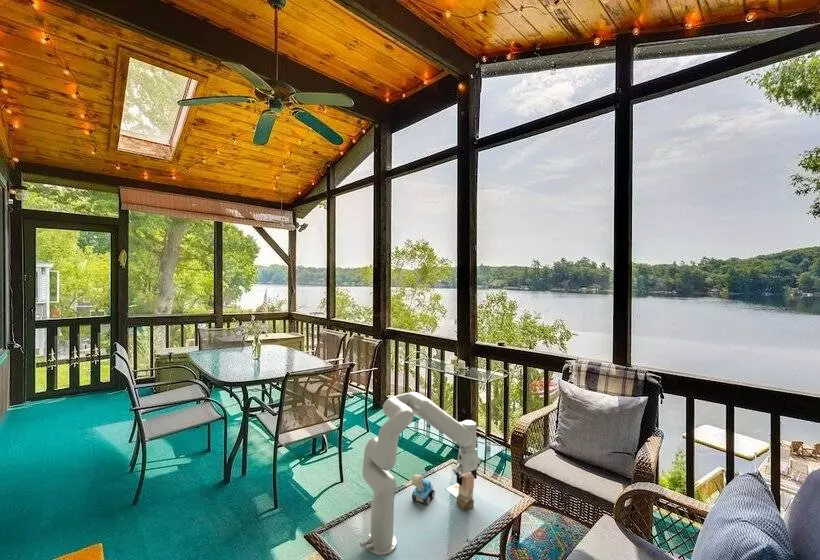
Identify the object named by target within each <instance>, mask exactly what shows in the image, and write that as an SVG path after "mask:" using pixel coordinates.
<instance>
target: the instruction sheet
mask: <svg viewBox="0 0 820 560" xmlns="http://www.w3.org/2000/svg"><path fill="white" fill-rule="evenodd" d="M445 490H446V491H447V492H449V493H450V495H452V496H453V497H455V499H457V496H458V492H459V484H458V483H457V482H456V483H455V484H452V485H450V486H448V487H446V488H445Z"/></svg>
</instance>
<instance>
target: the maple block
mask: <svg viewBox="0 0 820 560" xmlns="http://www.w3.org/2000/svg"><path fill="white" fill-rule="evenodd" d="M473 490H474V488H472V489H470V490H467V491H465V490H464V489H463V488H462V487H460V486H459V492H458V498H459V499H461V500H462V501H464V502H465V503H467V502H469V501H470V500H472V499H473V500H474V491H473Z"/></svg>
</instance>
